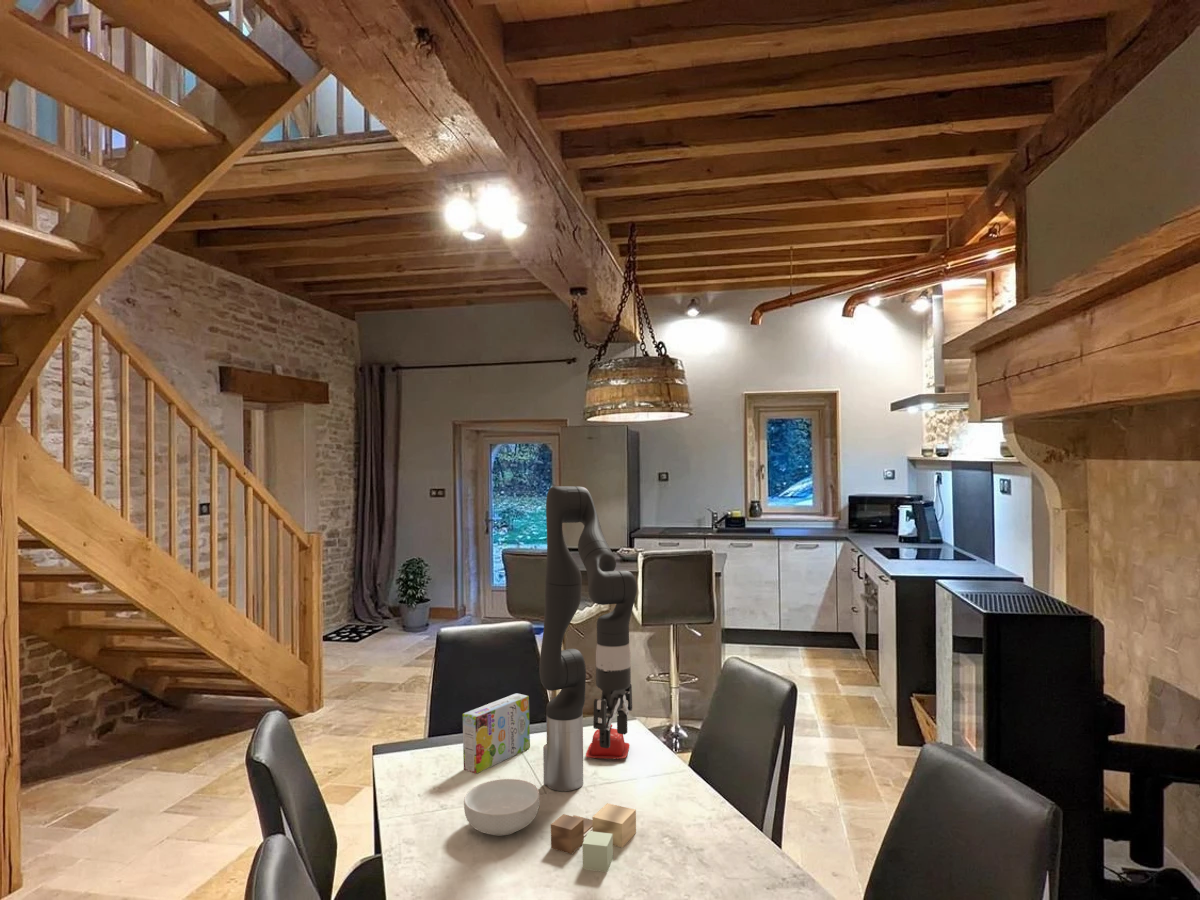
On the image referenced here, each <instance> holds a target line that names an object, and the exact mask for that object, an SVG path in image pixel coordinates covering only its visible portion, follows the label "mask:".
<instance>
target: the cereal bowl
mask: <svg viewBox="0 0 1200 900" xmlns="http://www.w3.org/2000/svg"><path fill="white" fill-rule="evenodd" d="M539 808H540V790H539V789H538V787H537V786H536V785H534V784H533V782H532V783H531V781H530V782H529V781H527V780H523V779H517V778H499V779H494V780H493V779H492V780H489V781H485V782H482V783H479V784H477V785H475V786H473V787H472V788H471V789H469V790H468V791H467V792H466V793H465V794H464V798H463V811H464V815H465V818H466V821H468V824H469V825H470V826H472V828H474V829H475V830H477V831H479V832H480V833H483V834H488V835H492V836H495V837H497V836H501V837H502V836H508V835H512V834H514V833H515V832H518V831H521V830H522V829H524V828H526V827H527V826H528V825H530V824H531V823H532V822H533V820H534V819H535V818H536V816H537V814H538V812H539Z"/></svg>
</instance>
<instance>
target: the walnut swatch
mask: <svg viewBox="0 0 1200 900" xmlns="http://www.w3.org/2000/svg"><path fill="white" fill-rule="evenodd" d="M572 816H573V817H577V818H581V819H583V820H584V838H586V836H587V834H588V832H589V831H593V822H592V819H590V818H586V817H582V816H579V815H574V814H573V815H572Z"/></svg>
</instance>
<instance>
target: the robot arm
mask: <svg viewBox="0 0 1200 900" xmlns="http://www.w3.org/2000/svg"><path fill="white" fill-rule="evenodd" d="M545 500H546V504H545V514H546V515H545V517H546V518H545V519H546V566H545V578H544V579H545V580H544V581H545V582H544V617H543V618H544V620H543V630H542V631H543V632H542V639H541V646H540V647H541V648H540V655H539V663H538V664H539V665H538V666H539V667H538V668H539V678H540V682H541V684H542V686H543V688H544V689H545V690H546V691H550V692H551V691H553V692H554V691H559V690H560V691H559V692H558V693H557V694H556V696H555V697H553V698H552V699H551V700H549V701H548V702H547V704H546V714H545V715H546V743H545V744H544V745H543V754H542V755H543V756H542V757H543V758H542V760H543V764H542V765H543V785H545V786H547V787H548V788H550V790H554V791H558V792H569V791H575V790H577V789H579V788H581V787H582V786H583V784H584V727H583V726H584V724H583V722H584V721H583V720H584V715H583V710H584V706H585V703H586V685H587V684H586V683H587V682H586V681H587V679H586V678H587V669H586V668H587V667H586V662H585V658H584V655H583V653H581V651H580V650H579V649H576V648H568V649H562V648H563V642H564V637H565V634H566V631H567V629H568V627H569V625H570V624H571V622H572V620H573V618H574V617H575V615H576V613H577V611H578V609H579V607H580V604H581V601H582V600H581V599H582V587H583V586H582V584H583V583H582V582H583V581H582V580H583V578H582V577H583V576H582V573H581V570H580V568H579V566H578V563H577V561H576V560H575V558H574V557H573V555H572V554H571V552H570V550H569V548H568V546H567V543H566V541H565V538H564V533H563V532H564V531H563V523H564V524H568V523H569V524H572V523H573V524H574V523H575V524H577V523H581V524H582V525H583V526H584V527H583V529H582V532H581V534H580V537H579V539H578V544H577V549H578V550H577V551H578V553H579V554H578V555H579V557H580V559H581V562H582V564H583V566H584V568H585V570H586V574H587V575H586V576H587V589H588V590H587V591H588V595H589V598H590V600H591V601H592V602H593V603H594V604H596V605H600V606H607V605H615V607H614V608H613V610H612V611H610V612H608V613H605V614H603V615H601V616H598V618H597V620H596V648H595V685H596V688H598V689H600V690H601V697H600V698H598V699H597V698H594V700H593V729H595V730H598V729H599V735H600V747H602V748H609V747H610V726H611V724H612V722H613V721H614V720H615V718H616V729H617V732H618V733H619V734H623V736H625V735H626V734H627V733H628V717H629V715H630V712H631V711H633V689H632V686H633V685H632V684H631V683H632V682H631V681H632V680H631V673H632V671H631V670H632V669H631V666H632V665H631V664H632V663H631V662H632V661H631V656H632V655H631V647H630V621H631V616H632V612H633V609H634V605H635V601H636V597H637V591H638V585H637V583H638V582H637V580H636V577H635V576H634V573H632V572H631V571H629V570H616V567H617V561H616V557H615V555H614V553H613V552H612V549H611V547H610V546H609V544H608V541H607V540H606V538H605V536H604V533H603V529H602V527H601V523H600V522H601V521H600V519H599V515H598V512H597V509H596V506H595V502H594V499H593V497H592V494H591V493H590V491H589V490H588V489H587V488H586V487H584V486H579V485H578V486H577V485H576V486H572V485H571V486H570V485H569V486H568V485H567V486H565V485H564V486H562V485H559V486H557V485H556V486H552V487H550V488H549V489H548V491H547V495H546V499H545ZM616 715H617V716H616ZM606 723H607V724H606Z"/></svg>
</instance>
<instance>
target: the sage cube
mask: <svg viewBox="0 0 1200 900" xmlns="http://www.w3.org/2000/svg"><path fill="white" fill-rule="evenodd" d="M613 859H614V845H613V834H611V833H602V832H594V831H593V830H591V831H589V832H588V834H587V835H586V836H585V837H584V842H583V844H582V870H588V871H597V872H604V873H607V872H608V871H609V869H610V867H611V864H612V862H613Z"/></svg>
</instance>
